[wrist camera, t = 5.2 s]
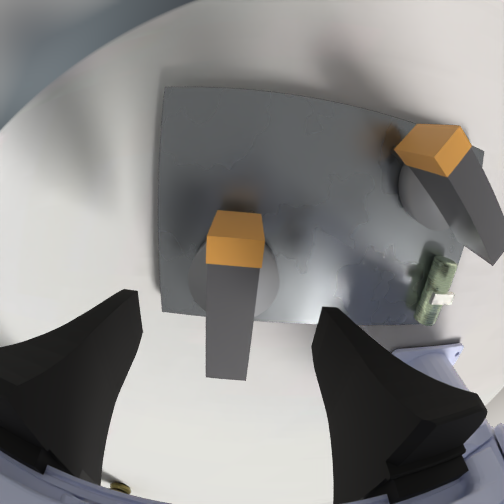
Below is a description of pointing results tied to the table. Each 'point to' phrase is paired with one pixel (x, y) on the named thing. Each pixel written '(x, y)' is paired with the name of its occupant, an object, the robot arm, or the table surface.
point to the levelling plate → (300, 204)
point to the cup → (120, 487)
